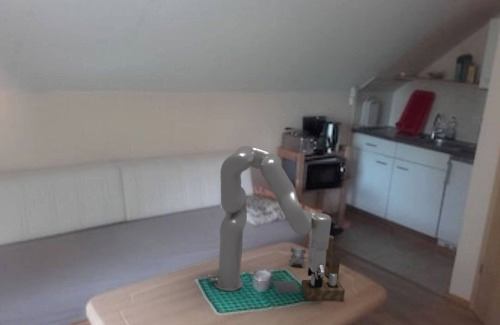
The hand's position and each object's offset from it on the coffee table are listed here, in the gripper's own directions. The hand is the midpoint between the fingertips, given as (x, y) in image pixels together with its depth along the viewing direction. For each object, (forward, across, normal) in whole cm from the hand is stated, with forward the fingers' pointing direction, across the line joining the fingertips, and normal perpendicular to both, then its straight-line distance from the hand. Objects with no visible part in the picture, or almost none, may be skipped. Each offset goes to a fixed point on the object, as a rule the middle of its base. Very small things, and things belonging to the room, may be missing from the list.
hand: (314, 281), depth 186 cm
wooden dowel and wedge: (+7, -18, +13) cm, 23 cm away
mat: (+7, -7, -10) cm, 14 cm away
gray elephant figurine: (+7, -30, 0) cm, 31 cm away
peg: (+7, 0, 0) cm, 7 cm away
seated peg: (+7, 0, +8) cm, 10 cm away
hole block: (+7, 0, +4) cm, 8 cm away
